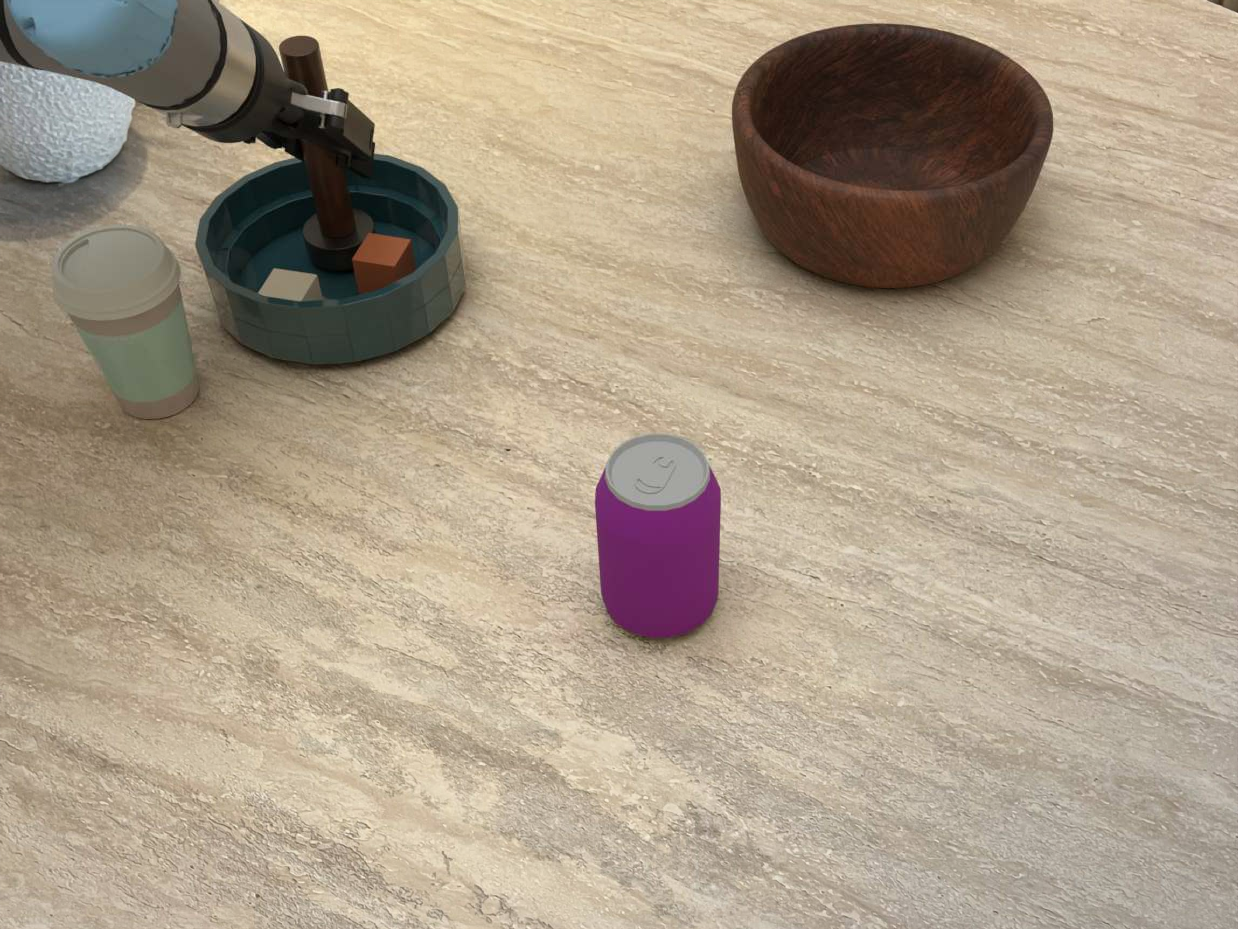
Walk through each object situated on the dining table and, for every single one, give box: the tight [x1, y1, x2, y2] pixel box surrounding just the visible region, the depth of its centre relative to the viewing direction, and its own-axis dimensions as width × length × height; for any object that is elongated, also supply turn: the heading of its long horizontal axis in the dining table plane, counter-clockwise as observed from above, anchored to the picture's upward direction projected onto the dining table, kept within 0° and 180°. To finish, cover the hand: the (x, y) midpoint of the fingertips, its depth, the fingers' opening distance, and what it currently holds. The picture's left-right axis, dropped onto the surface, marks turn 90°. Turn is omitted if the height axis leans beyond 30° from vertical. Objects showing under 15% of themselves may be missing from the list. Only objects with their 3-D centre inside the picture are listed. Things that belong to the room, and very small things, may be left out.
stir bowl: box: [194, 153, 467, 365], centre depth 113 cm, size 20×20×6 cm
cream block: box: [258, 268, 323, 301], centre depth 111 cm, size 4×4×4 cm
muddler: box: [278, 35, 376, 270], centre depth 110 cm, size 6×6×17 cm
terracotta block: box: [352, 233, 416, 295], centre depth 113 cm, size 4×4×4 cm
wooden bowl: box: [731, 22, 1054, 289], centre depth 118 cm, size 25×25×10 cm
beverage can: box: [594, 432, 722, 639], centre depth 91 cm, size 8×8×12 cm
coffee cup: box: [50, 224, 200, 420], centre depth 103 cm, size 9×8×12 cm
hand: (347, 157), depth 114 cm, fingers closed on muddler, 3 cm apart
